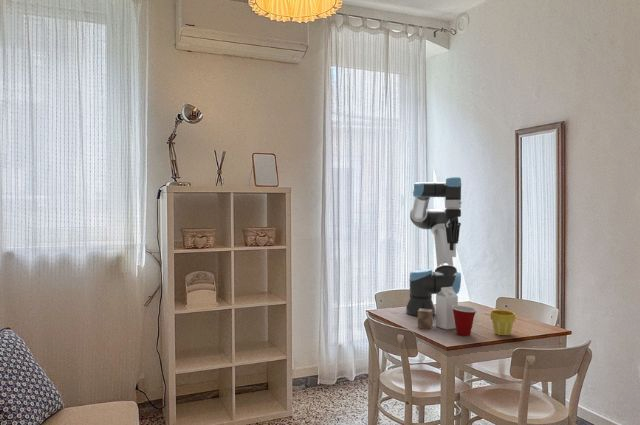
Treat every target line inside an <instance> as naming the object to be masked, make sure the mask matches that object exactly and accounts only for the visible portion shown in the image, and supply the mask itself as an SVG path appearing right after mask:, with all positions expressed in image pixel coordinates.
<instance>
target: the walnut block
mask: <svg viewBox="0 0 640 425" xmlns="http://www.w3.org/2000/svg"><path fill="white" fill-rule="evenodd" d="M433 316H434V315H433V309H421V308H420V309H419V310H418V316H417V329H427V330H431V329H432V328H433V318H434V317H433Z"/></svg>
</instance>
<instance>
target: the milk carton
mask: <svg viewBox="0 0 640 425" xmlns="http://www.w3.org/2000/svg"><path fill="white" fill-rule="evenodd" d="M458 298H459V297H458V294H456V293H455V292H454V290H453V287H444V288H441V291H440V292H439V293H438V294H435V326H436V327H438V328H441V329H443V330H453V329H456V326H455V319H454V313H453V309H452V306H459V304H458V303H459V302H458V301H459V300H458Z"/></svg>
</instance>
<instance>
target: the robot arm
mask: <svg viewBox="0 0 640 425" xmlns="http://www.w3.org/2000/svg"><path fill="white" fill-rule="evenodd" d="M412 195H413V197H415V198H414V200H413V201H414V203H413V206H412V208H411V210H410V212H409V218H410V221H411V222H412V224H413V225H415V226H416V227H417V228H419V229H421V230H430V232H431V234H432V235H433V237H434V245H435V247H434V248H435V259H436V268H435V270H434V271H433V270H432V268H421V269H415V270H412V271H410V273H409V299H408V301H407V305H406V308H405V312H406V314H408V315H410V316H417V317H418V310H419V309H420V308H421V309H433V316H434V315H435V316H436V307H435V306H434V305H435V304H434V302H433V295H437V294H438V293H439V292H440V291H441V288H444V287H453V290H454V292H455V293H456V294H457V295H458V294H459V293H460V291H461V290H460V289H461V284H462V283H461V281H462V273H461V272H460V271H459V272H458V269H457V267H456V266H454V261H453V258H456V257H457V244H459V237H460V232H461V231H460V228H461V225H462V223H461V222H459V218H460V217H461V216H462V210H461V207H462V204H463V203H462V179H461V177H459V176H449V177H445V181H444V182H443V181H442V182H423V181H420V182H414V183H413V185H412ZM431 198H444V199H445V200H444V208H445V209H428V207H429V202H430V199H431Z"/></svg>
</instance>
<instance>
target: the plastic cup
mask: <svg viewBox="0 0 640 425" xmlns="http://www.w3.org/2000/svg"><path fill="white" fill-rule="evenodd" d="M452 309H453V313H454V319H455V326H456V328H455V331H456V335H458V336H461V337H469V336H471V334H472V329H473V324H474V319H475V315H476V314H477V311H478V310H477V309H476V308H474V307H471V306H466V305H458V306H452Z"/></svg>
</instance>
